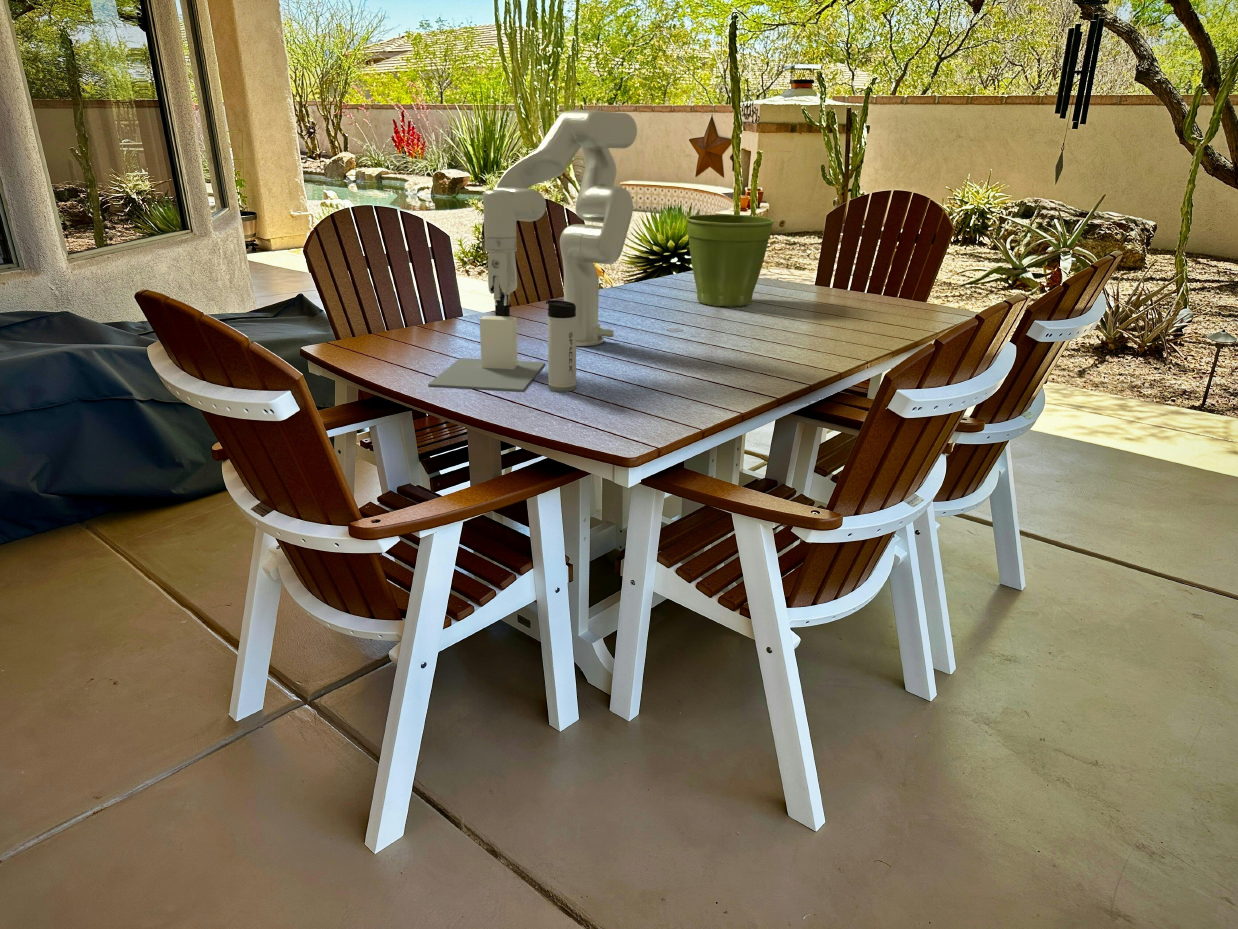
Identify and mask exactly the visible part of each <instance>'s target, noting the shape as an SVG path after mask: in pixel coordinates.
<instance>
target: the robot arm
mask: <svg viewBox="0 0 1238 929" xmlns="http://www.w3.org/2000/svg"><path fill="white" fill-rule="evenodd" d="M637 134H638V126H637V122H636V121H635V119H634V118H633V117H632V115H631V114H629V113H626V112H615V111H605V110H597V109H596V110H594V109H584V110H582V109H577V110H576V109H572V110H565V111H563V112H562V113H561V114H559V116H558V117H557V119H556V120H555V121H554V123H553V124H552V126H551V127H550V128H549V131H548V132H547V133H546V135H545V136H544V138H543V139H542V141H541V142H540V143H539V145H538V147H537V148H536V149H535V150H533V151H532V152H531V153H529V154H528V155H525V156H524V157H523V158H522V159H520V160H519V161H517V162H516V163H515V164H513V165H511V166H510V167H509V168H508V169H507V170H505V172H503V174H502V176H501V177H500V179H499V180H498V182H497V183H496V185H495V186H494V188H493V189H488V190H485V192H484V193H483V196H482V202H483V205H482V206H483V207H482V208H483V231H484V232H483V234H484V236H483V237H484V251H485V252H488V256H487V258H488V259H487V281H488V282H487V284H488V287H487V288H488V292H489V294H492V295H493V300H494V308H495V309H494V310H495V313H494V314H495V315H494V316H505V317H511V311H510V299H511V298H510V297H511V296H510V295H511V294H512V293H513V292H514V291H516V290H517V288H518V275H517V263H516V260H517V259H516V254H515V252H517V251H518V250H517V248H518V247H517V221H519V222H534V221H535V222H536V221H538V220H540V219H541V218H542V217H543V216H544V214H545V212H546V210H547V209H546V208H547V202H546V199H545V197H544V195H543V194H542V193H541V192H540V191H538V190H536V189H532V188H531V187H534V186H535V185H538V184H541V183H545V182H548V181H550V180H552V179H555V178H557V177H559V176H561V175H563V174H564V173H565V172H566V170H567V168H568V166H570V163H571V162H572V160H573V159H574V158H575V156H576V154H577V153H578V151H579V150H580V149H582V151H583V155H584V161H585V166H584V167H585V168H584V173H583V175H582V179H581V183H580V187H579V190H578V194H577V198H576V203H575V213H576V216H577V217H578V218H579V219H581V220H582V221H585V222H592V223H596V224H597V223H599V224H602V226H601V225H593V224H582V223H581V224H580V223H574V224H570V225H568V226H567V227H565V228H564V229H563V230H562V232H561V234H560V238H559V247H560V253H561V258H562V259H561V260H562V266H563V301H567V302H571V303H574V304H575V306H576V347H591V346H597V345H600V344H602V343H603V342H604V337H606V338H614V336H615V334H614V333H615V331H614V330H613V329H611V328H610V329H609V328H603V327H601V323H599V297H600V296H599V295H600V294H599V289H600V288H599V285H600V280H599V278H600V277H599V274H598V270H597V268H596V265H595V264H601V265H613V264H614V263H616V262H617V261H618V260H619V259H620V256H621V254H622V252H623V249H624V246H625V242H626V240H627V235H628V232H629V228H630V225H631V221H632V217H633V211H634V200H633V197H632V195H631V193H630V192H629V190H627V189H626V188H624V187H622V186H616V185H615V182H616V176H617V165H616V161H615V159H614V157H613V155H612V153H611V151H610V149H619V150H620V149H628V148H629V147H631V146H632V145H633V144H634V143H635V140H636V139H637Z"/></svg>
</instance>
